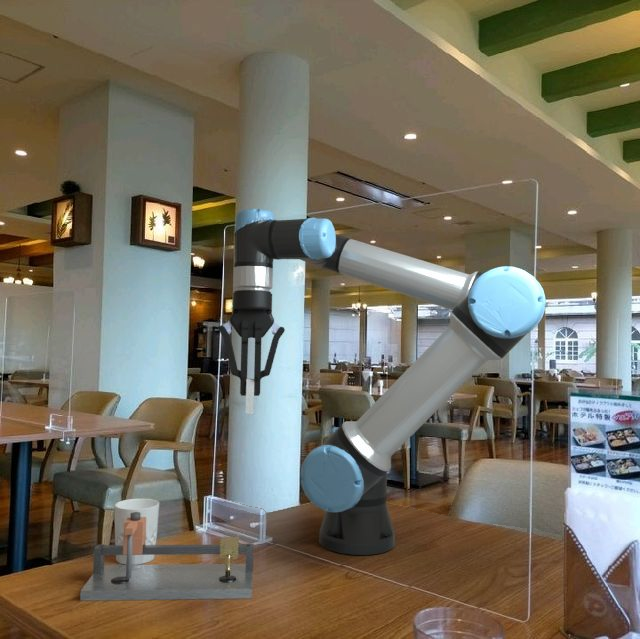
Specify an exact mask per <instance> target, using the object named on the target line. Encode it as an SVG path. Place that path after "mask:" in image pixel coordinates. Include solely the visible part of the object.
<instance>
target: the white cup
mask: <svg viewBox="0 0 640 639" xmlns="http://www.w3.org/2000/svg"><path fill="white" fill-rule="evenodd" d="M133 512H140V513H141V516H140V517H146V545H157V536H158V526H159V514H160V513H159V512H160V501H158V500H156V499H153V498H140V497H139V498H130V499H124V500H120V501H117V502H116V503H115V504H114V533H115V534H114V538H115V543H114V545H123V539H124V522H125V520H126V519H127V518H128V517H131V513H133ZM154 559H155V555H132V565H145V564H147V563H150V562H152V561H153V560H154ZM115 560H116V562H117V563H118V564H119V565H126V562H127V555H115Z"/></svg>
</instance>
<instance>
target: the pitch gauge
mask: <svg viewBox="0 0 640 639" xmlns="http://www.w3.org/2000/svg"><path fill="white" fill-rule="evenodd" d="M254 545H255V544H254V543H246V544H243V543H242V544H241V543H240V536H221V538H220V543H219V544H155V545H143V550H142V554H132V555H154V556H156V555H159V556H160V555H161V556H162V555H164V556H165V555H166V556H167V555H219V559H220V560H221V559H225V563H217V564H215V563H208V564H207V563H204V564H203V563H202V564H201V563H200V564H198V563H196V564H193V563H189V564H188V563H187V564H185V563H184V564H181V563H180V564H139V565H132V568H131V578H130V579H126V565H125V564H110V565H109V564H105V556H116V555H127V554H123V545H115V544H111V545H110V544H108V545H107V544H96V545H95V547H94V548H93V565H92V566H93V571H92V572H93V573H92V575H91V576H90V577H89V578H88V580H87V582H86V583H85V584H84V585H83V587H82V588H81V589H80V597H79V598H80V600H79V601H80V602H83V601H84V602H86V601H87V602H89V601H90V602H91V601H97V602H98V601H155V600H157V601H160V600H161V601H164V600H165V601H166V600H171V601H172V600H217V599H218V600H220V599H221V600H222V599H223V600H224V599H225V600H227V599H228V600H231V599H232V600H233V599H235V600H237V599H252V598H253V578H254ZM239 555H245V563H231V561H232V559H239Z"/></svg>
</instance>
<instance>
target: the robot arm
mask: <svg viewBox="0 0 640 639" xmlns="http://www.w3.org/2000/svg"><path fill="white" fill-rule="evenodd" d="M335 229H336V228H335V227H334V225H333V223H332V221H331V220H330V219H328V218H316V217H309V218H296V219H294V218H293V219H281V220H279V219H278V220H277V219H276V218H275V215H274V213H273V212H272V211H271V210H268V209H262V208H246V209H245V208H244V209H242V210H240V211H238V212H237V214H236V216H235V225H234V232H233V236H234V263H233V284H232V285H233V288H234V289H236V290H234V292H232V313H231V315H230V317H229V321H227V322H225V324H221V325H219V326H218V327H217V328H218V331H219V332H220V334H221V336H222V337H223V341H224V345H225V346H224V347H225V352H226V355H227V359H228V360H227V361H228V365H229V369H230V373H231V375H232V376H234V377H236V378H239V380H240V382H239V384H240V386H239V388H240V389H239V394H240V396H243V397H244V396H245V414H247V415H254V410H255V408H254V407H255V397H256V396H257V397H258V396H260V394H261V380H262V378H265V377H269V376H270V374H271V371H272V368H273V364H274V360H275V356H276V352H277V348H278V345H279V341H280V339H281V337H282V336H283V334H284V333H285V331H286V330H285V327H284V326H280V325H279V323H276V322H275V317H274V316H273V293H272V292H271V291H270V290H272V289H273V276H274V274H273V273H274V260H275V261H276V260H300V261H304V262H305V263H308V264H311V265H313V266H315V267H317V268H320V269H321V270H325V271H327V270H328V271H331V272H334V273H337V274H339V275H344V276H346V277H350V278H353V279H356V280H359V281H362V282H365V283H368V284H370V285H371V284H372V285H373V286H377V287H380V288H383V289H387V290H389V291H392V292H396V293H399V294H400V295H401V294H402V295H404V296H407V297H410V298H414V299H417V300H420V301H423V302H426V303H428V304H432V305H435V306H438V307H440V308H443V309H446V310H450V314H449V317H450V318H449V326H448V327H447V328H446V329H445V330H444V331H443V332H442V333H441V334H440V335H439V336H438V337H437V339H436V340H434V341H433V343H432V344H431V345H430V346H428V348H426V349H425V351H424V352H423V353H422V354H421V355H420V356H418V358H417V359H416V360H415V361H414V362H413V363H412V364H411V365H410V366H409V367H408V368H407V369H406V370H405V371H404V372H403V373H402V374H401V376H399V377H398V379H396V381H395V382H394V383H393V384H391V386H390V387H388V389H387V390H385V392H384V393H383V394H381V396H380V397H379V398H378V399H377V400H376V401H375V402H374V403H373V404H372V405H371V406H370V407H369V408H368V409H367V410H366V411H365V412H364V413H363V414H362V415H361V417H360V418H359V419H358V420H356V421H353V420H352V421H351V420H350V421H344V422H342V424H340V426H339V427H338V426H337V427H332V428H331V429H330V435H329V437H328V438H327V439H326V440H325V441H324V442H323V443H322V444H321V445H319V446H317V447H315V448H313V449H312V450H311V451H310V452H309V453H308V454H307V455H306V457H305V458H304V459H303V461H302V463H301V464H302V465H301V468H300V475H299V476H300V484H301V488H302V490H303V492H304V495H305V496H306V497H307V499H308V500H309V502H311V503H312V504H313V505H314V506H315V507H316V508H318V509H319V510H322V511H325V514H324V517H323V519H322V522H321V525H320V528H319V536H318V537H319V540H318V542H319V545H321V547H323V548H325V549H326V550H328V551H332V552H334V553H339V554H345V555H351V556H352V555H354V556H369V555H370V556H371V555H378V554H383V553H386V552H388V551H391V550H392V549H393V548H394V547H395V544H396V543H395V541H396V540H395V538H396V537H395V536H396V535H395V530H394V526H393V524H392V521H391V520H392V519H391V517H390V513H389V510H388V507H387V492H388V491H387V490H388V489H387V488H388V486H387V485H388V483H387V482H388V472H389V471H390V470H391V469H392V456H393V455H394V454H395V453H396V452H397V451H398V450H399V449H400V448H401V447H402V446H403V445H404V444H405V443H406V442H407V441H408V440H409V439H410V438H411V437H412V436H413V435H414V434H416V432H417V431H418V430H419V429H420V428H421V427H422V426H423V425H425V423H426V422H427V421H428V420H429V419H430V418H432V416H433V415H434V414H435V413H436V412H437V411H438V410H439V409H440V408H441V407H442V406H443V405H444V404H445V403H446V402H447V401H448V400H449V399H450V398H451V397H452V396H453V395H454V394H455V393H456V392H457V391H458V390H459V389H461V387H462V386H463V385H464V384H465V383H466V382H467V381H468V380H469V379H470V378H471V377H472V376H473V375H474V374H475V373H476V372H477V371H478V370H479V369H480V368H481V367H482V366H483V365H484V364H485V363H486V362H487V361H500V360H502V359H503V358H504V357H505V356H506V355H507V354H508V353H509V352H510V351H512V350H513V348H514V347H515V346H516V345H518V343H520V341H521V340H522V339H524V338H525V337H526V336H527V334H529V333H531V331H533V330H534V329H535V328H536V327H537V325H538V324H539V323H540V322H541V320H542V319H543V316H544V315H545V310H546V302H547V301H546V295H545V292H544V288H543V287H542V285H541V283H540V282H539V281H538V280H537V278H535V277H534V275H532V274H530V273H529V272H527V270H523V269H522V268H520V267H519V268H518V267H515V266H499V267H495V268H492V269H489V270H487V271H486V272H484V273H483V272H479V271H474V272H473V273H470V274H469V273H464V272H462V271H459V270H455V269H452V268H448V267H445V266H442V265H439V264H435V263H432V262H429V261H425V260H422V259H418V258H416V257H412V256H409V255H405V254H402V253H400V252H395V251H392V250H388V249H386V248H383V247H379V246H375V245H372V244H368V243H366V242H362V241H359V240H355V239H352V238H349V237H347V236H343V235H340V234H337V233H336V230H335ZM232 327H233V328H234V330H235V332H236V333H237V334H238V336H239V337H240V338H241V343H240V344H241V346H240V347H241V348H240V369H238V365H237V361H236V356H235V352H234V347H233V342H232V337H231V333H232V331H233V330H232ZM271 328H272V330H271V333H272V335H273V337H272V340H271V343H270V347H269V351H268V354H267V359H266V362H265V366H264V369H263V370H262V338H264V337H265V335H266V334H267V333H268V332H269V330H270V329H271ZM250 338H253V339H254V366H253V367H254V369H253V370H254V371H253V372H254V374H253V378H248V360H249V358H248V357H249V339H250Z"/></svg>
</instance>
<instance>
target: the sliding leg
mask: <svg viewBox="0 0 640 639" xmlns="http://www.w3.org/2000/svg"><path fill="white" fill-rule="evenodd" d="M140 516H141V513H140V512H133V513H131V517H128V518H127V519H126V520H125V522H124V539H123V554H127V562H126V579H130V578H131V568H132V554H142V550H143V545H146V517H140Z"/></svg>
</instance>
